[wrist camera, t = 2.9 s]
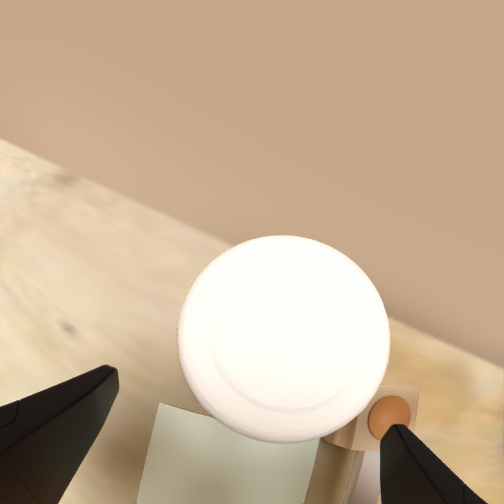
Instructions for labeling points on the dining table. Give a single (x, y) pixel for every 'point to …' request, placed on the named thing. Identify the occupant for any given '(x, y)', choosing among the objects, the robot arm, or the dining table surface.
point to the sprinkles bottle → (283, 339)
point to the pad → (220, 464)
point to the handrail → (374, 437)
